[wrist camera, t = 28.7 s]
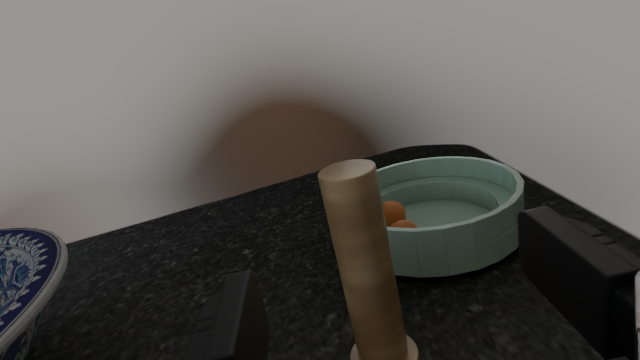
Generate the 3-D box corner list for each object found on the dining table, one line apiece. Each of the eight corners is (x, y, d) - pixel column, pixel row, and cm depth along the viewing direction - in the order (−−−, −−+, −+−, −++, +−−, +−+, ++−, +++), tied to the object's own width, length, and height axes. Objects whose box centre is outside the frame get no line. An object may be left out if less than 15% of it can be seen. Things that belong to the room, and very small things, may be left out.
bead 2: (416, 246, 36) (394, 262, 38) (432, 237, 38) (409, 252, 40) (396, 217, 37) (375, 235, 39) (412, 210, 39) (391, 227, 41)
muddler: (435, 367, 26) (404, 161, 22) (383, 408, 24) (336, 192, 20) (388, 333, 30) (353, 151, 25) (340, 367, 28) (292, 176, 23)
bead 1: (397, 221, 40) (406, 236, 42) (404, 195, 42) (412, 211, 44) (369, 219, 42) (379, 233, 44) (377, 194, 43) (386, 209, 45)
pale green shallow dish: (565, 220, 39) (564, 171, 37) (438, 312, 31) (430, 254, 29) (427, 185, 53) (422, 148, 51) (316, 242, 45) (306, 201, 44)
